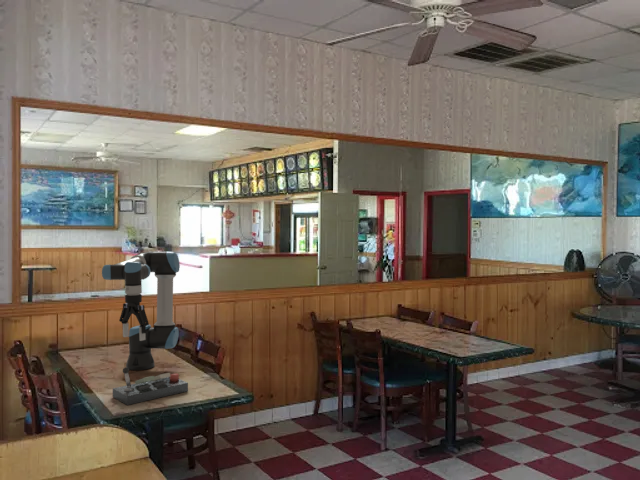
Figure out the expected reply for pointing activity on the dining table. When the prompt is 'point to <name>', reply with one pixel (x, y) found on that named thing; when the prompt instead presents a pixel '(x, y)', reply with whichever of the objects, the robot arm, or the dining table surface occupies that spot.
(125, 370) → the lever
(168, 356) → the dining table surface
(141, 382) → the white flat block
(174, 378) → the button
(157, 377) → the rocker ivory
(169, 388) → the panel
